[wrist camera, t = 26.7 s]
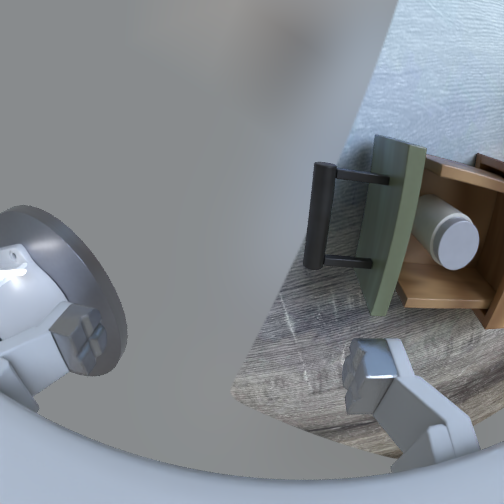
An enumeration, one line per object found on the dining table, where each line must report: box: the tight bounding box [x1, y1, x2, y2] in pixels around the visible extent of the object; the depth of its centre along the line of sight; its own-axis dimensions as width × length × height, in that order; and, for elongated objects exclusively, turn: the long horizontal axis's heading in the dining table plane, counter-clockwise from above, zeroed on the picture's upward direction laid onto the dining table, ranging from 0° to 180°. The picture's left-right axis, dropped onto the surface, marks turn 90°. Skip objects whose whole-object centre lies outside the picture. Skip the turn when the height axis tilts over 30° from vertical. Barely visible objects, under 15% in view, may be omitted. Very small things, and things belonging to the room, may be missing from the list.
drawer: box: [303, 135, 504, 316], centre depth 19 cm, size 18×11×7 cm, turn 88°
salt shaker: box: [411, 194, 479, 270], centre depth 18 cm, size 4×4×6 cm
